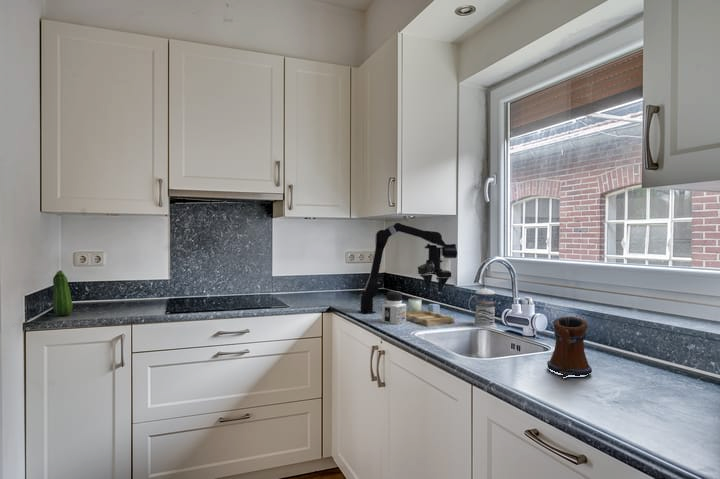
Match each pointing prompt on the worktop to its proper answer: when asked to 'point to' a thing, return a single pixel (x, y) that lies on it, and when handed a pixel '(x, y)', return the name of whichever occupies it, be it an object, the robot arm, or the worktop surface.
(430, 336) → the worktop surface
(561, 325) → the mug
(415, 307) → the cup
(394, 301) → the container
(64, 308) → the vegetable
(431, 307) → the block
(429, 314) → the tray
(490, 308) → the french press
